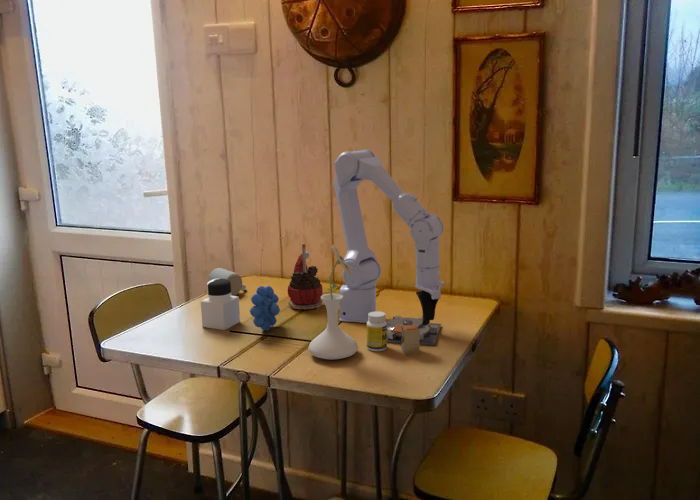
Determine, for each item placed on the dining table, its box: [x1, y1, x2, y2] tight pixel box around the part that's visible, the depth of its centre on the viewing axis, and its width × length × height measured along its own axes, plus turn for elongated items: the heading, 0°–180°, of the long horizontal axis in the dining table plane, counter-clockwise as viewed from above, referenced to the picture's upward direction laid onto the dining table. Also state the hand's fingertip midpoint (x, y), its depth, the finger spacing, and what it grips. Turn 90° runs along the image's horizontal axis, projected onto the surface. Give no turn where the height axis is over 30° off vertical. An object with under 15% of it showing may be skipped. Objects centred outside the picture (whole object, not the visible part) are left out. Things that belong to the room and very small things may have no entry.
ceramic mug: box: [207, 267, 247, 296], centre depth 197 cm, size 11×8×8 cm
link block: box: [400, 325, 420, 357], centre depth 149 cm, size 4×4×6 cm
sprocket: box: [387, 315, 438, 340], centre depth 161 cm, size 14×15×4 cm
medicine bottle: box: [200, 279, 241, 331], centre depth 169 cm, size 7×7×12 cm
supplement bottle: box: [366, 310, 388, 352], centre depth 151 cm, size 5×5×8 cm
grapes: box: [249, 285, 281, 331], centre depth 163 cm, size 12×7×12 cm, turn 155°
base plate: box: [385, 319, 442, 347], centre depth 161 cm, size 15×14×1 cm
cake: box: [287, 243, 324, 310], centre depth 182 cm, size 11×9×18 cm
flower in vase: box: [307, 244, 359, 361], centre depth 147 cm, size 13×11×25 cm
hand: (428, 319), depth 161 cm, fingers closed, pressing on sprocket
